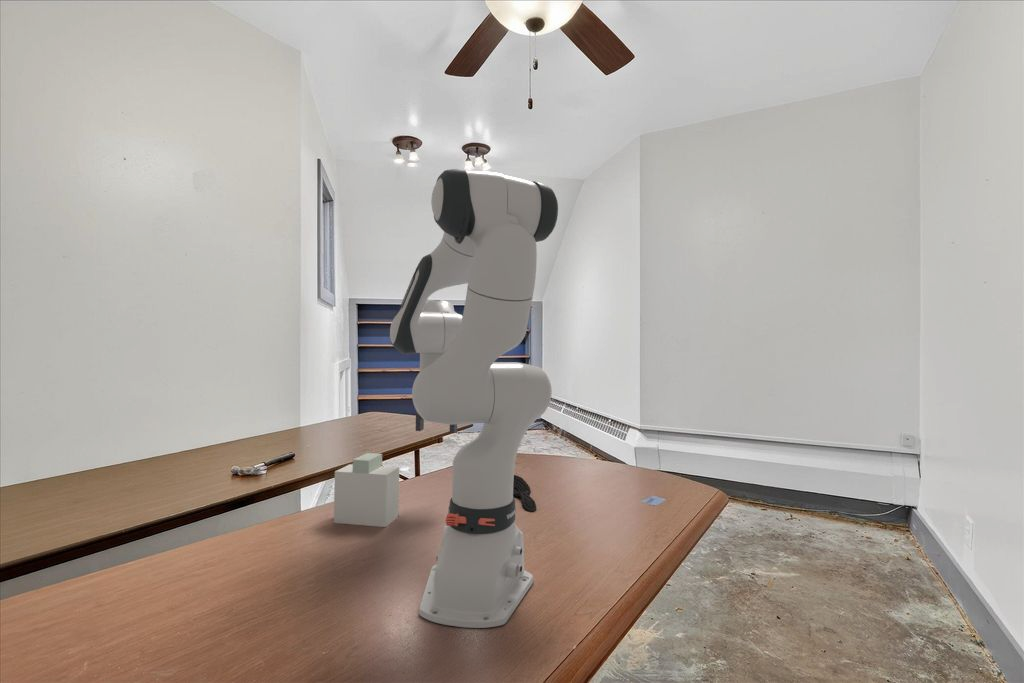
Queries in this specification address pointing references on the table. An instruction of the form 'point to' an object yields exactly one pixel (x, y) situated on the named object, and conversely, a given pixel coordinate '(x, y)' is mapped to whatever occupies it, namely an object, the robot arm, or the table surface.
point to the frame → (421, 424)
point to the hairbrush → (523, 493)
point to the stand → (366, 492)
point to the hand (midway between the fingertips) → (436, 419)
